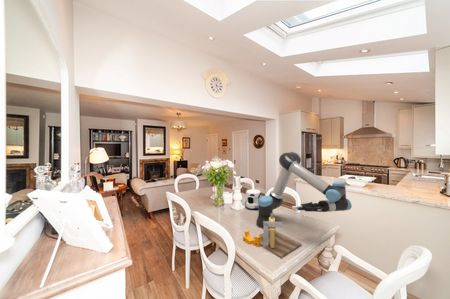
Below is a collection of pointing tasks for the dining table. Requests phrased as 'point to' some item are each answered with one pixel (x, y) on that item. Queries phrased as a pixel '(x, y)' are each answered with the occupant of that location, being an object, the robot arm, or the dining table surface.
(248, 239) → the pipe clamp
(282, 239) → the board
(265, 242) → the hook
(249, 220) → the dining table surface
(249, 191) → the white rounded appliance
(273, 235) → the hinged door
